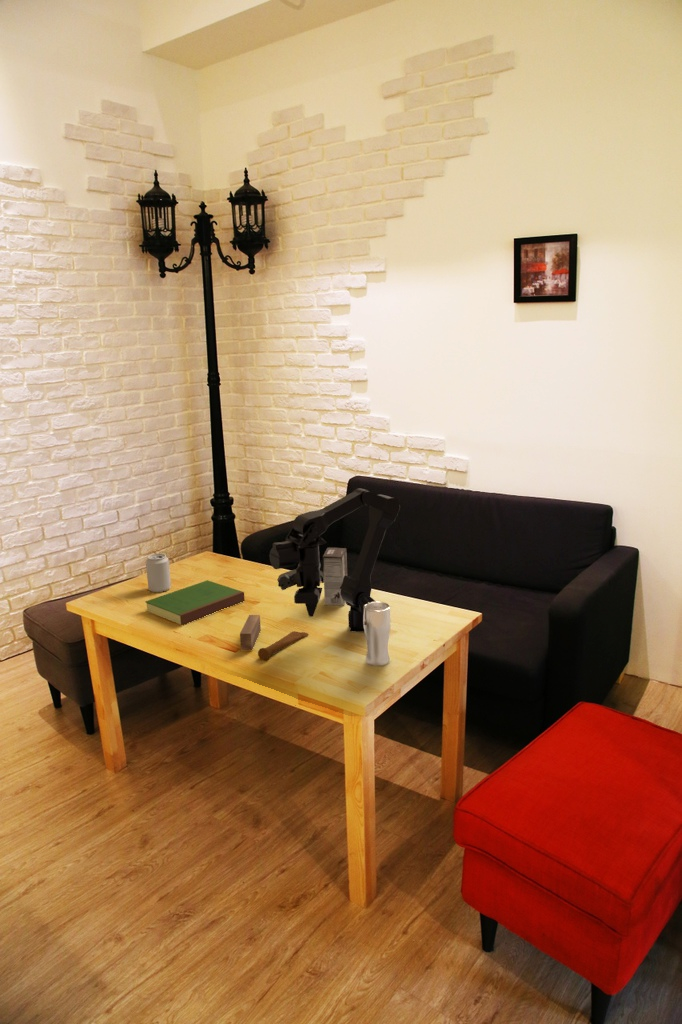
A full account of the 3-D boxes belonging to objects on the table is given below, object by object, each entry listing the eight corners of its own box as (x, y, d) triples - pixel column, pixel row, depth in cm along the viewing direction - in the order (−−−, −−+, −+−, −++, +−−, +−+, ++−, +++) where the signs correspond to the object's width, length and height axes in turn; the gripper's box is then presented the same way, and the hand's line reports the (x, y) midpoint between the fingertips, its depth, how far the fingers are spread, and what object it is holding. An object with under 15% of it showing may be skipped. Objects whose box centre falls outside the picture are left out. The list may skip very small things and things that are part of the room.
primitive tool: (293, 632, 202) (293, 621, 202) (310, 635, 200) (309, 624, 199) (256, 660, 186) (255, 648, 185) (274, 664, 183) (273, 651, 183)
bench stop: (260, 631, 203) (259, 614, 202) (252, 650, 191) (250, 633, 189) (250, 631, 203) (249, 614, 202) (241, 650, 191) (239, 633, 190)
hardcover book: (182, 627, 209) (181, 615, 208) (146, 612, 221) (145, 601, 220) (246, 602, 227) (245, 591, 226) (210, 590, 239) (209, 579, 238)
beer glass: (386, 668, 178) (385, 612, 174) (360, 664, 180) (358, 609, 177) (395, 657, 184) (394, 602, 180) (370, 653, 187) (368, 599, 183)
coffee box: (329, 594, 230) (327, 547, 226) (348, 595, 229) (347, 547, 225) (324, 605, 221) (321, 555, 217) (344, 605, 220) (342, 556, 216)
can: (175, 588, 240) (172, 554, 238) (157, 594, 235) (153, 560, 232) (162, 584, 245) (159, 551, 242) (144, 590, 240) (140, 556, 237)
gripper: (284, 551, 199) (286, 603, 202) (273, 573, 180) (276, 630, 184) (323, 551, 198) (325, 603, 201) (316, 573, 180) (319, 630, 183)
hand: (311, 616), depth 193 cm, fingers closed
